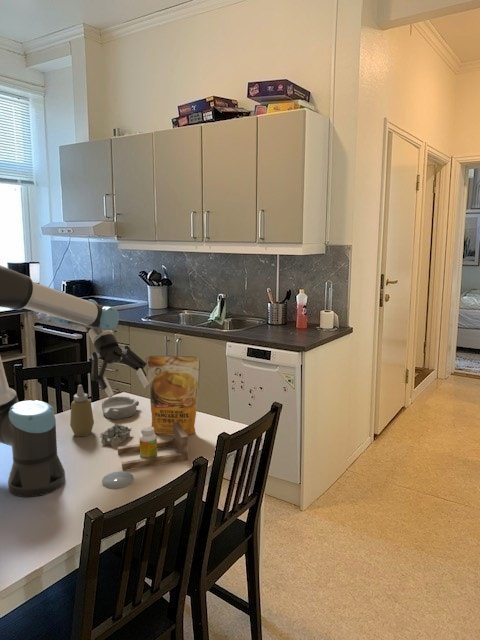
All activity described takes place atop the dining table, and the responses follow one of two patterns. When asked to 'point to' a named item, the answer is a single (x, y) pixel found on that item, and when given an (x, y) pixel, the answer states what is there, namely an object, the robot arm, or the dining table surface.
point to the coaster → (117, 479)
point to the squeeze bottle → (81, 414)
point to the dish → (119, 407)
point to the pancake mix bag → (173, 392)
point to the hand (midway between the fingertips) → (129, 391)
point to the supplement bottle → (148, 443)
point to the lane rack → (178, 442)
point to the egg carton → (119, 432)
